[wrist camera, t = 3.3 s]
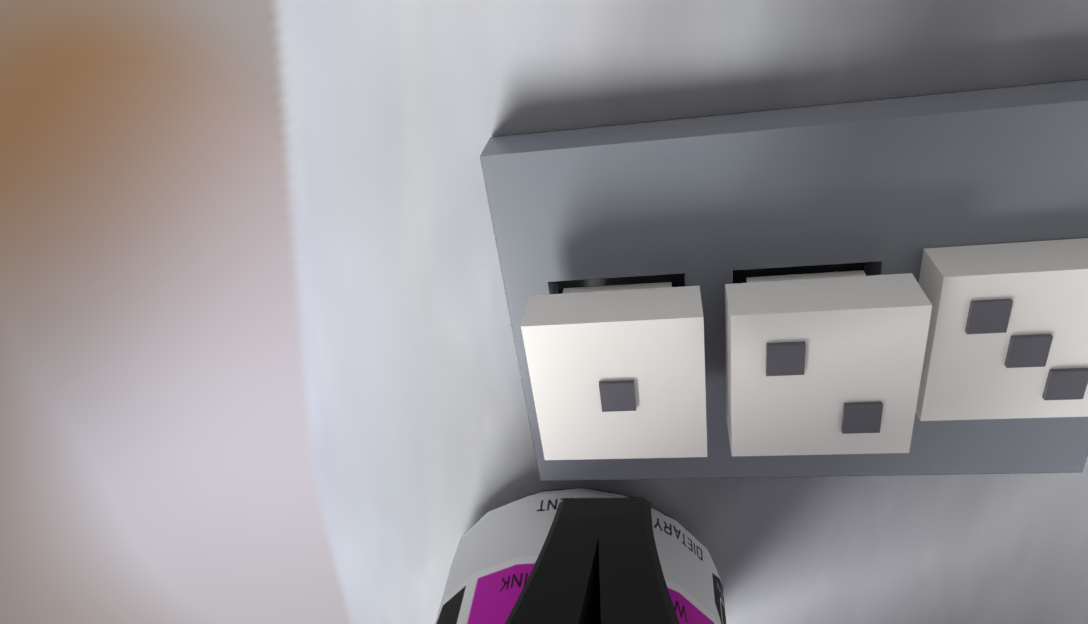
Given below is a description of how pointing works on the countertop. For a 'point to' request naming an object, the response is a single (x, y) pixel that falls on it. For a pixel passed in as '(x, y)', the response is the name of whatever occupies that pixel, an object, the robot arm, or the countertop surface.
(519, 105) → the countertop surface
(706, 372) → the keypad
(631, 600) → the robot arm
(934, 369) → the tile three
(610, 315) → the tile one
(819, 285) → the tile two
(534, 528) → the supplement can
